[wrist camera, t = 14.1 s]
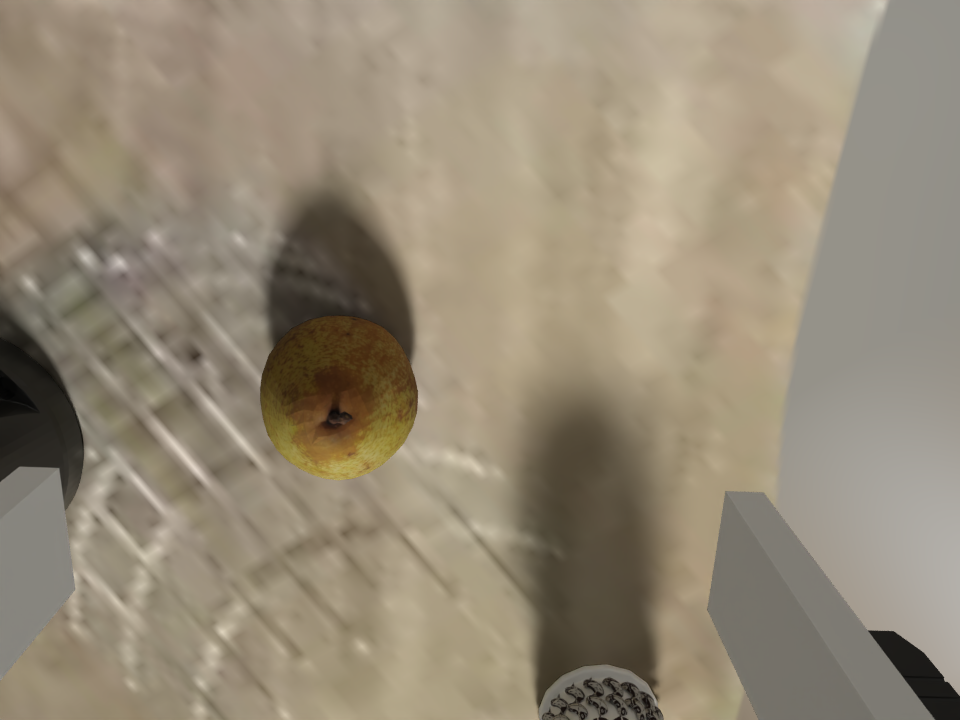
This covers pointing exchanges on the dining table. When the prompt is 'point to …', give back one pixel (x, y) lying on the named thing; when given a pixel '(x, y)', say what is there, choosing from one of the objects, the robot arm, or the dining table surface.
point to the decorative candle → (599, 696)
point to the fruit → (338, 396)
